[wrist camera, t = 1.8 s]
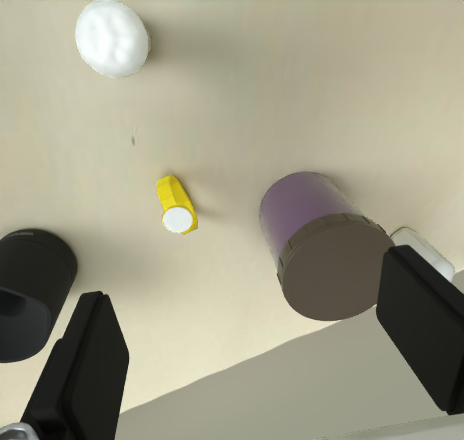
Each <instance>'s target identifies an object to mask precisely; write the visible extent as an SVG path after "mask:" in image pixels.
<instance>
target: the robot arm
mask: <svg viewBox="0 0 464 440" xmlns="http://www.w3.org/2000/svg"><path fill="white" fill-rule="evenodd" d="M376 315H377V318H378V320H379V322H380V324H381V325H382V326H383V328H384V329H385V331H386V332H387V334H388V335H389V337H390V338H391V340H392V341H393V342H394V344H395V345H396V347H397V348H398V349H399V351H400V353H401V354H402V355H403V357H404V358H405V360H406V361H407V363H408V364H409V366H410V367H411V369H412V370H413V372H414V373H415V374H416V376H417V377H418V379H419V380H420V382H421V383H422V384H423V386H424V388H425V389H426V390H427V392H428V393H429V395H430V396H431V398H432V399H433V401H434V402H435V404H436V405H437V406H438V407H439V409H441V410H442V411H446V412H447V414H448V415H449V416H444V417H438V418H431V419H426V420H420V421H414V422H408V423H403V424H397V425H391V426H385V427H380V428H375V429H368V430H363V431H357V432H351V433H346V434H341V435H335V436H329V437H323V438H318V439H312V440H464V294H463V293H462V292H460V291H459V290H458V289H457V288H456V287H455V286H454V285H453V284H452V283H451V282H449V281H448V280H447V279H446V278H445V277H444V276H443V275H442V274H441V273H440V272H438V271H437V270H436V269H435V268H434V267H433V266H432V265H431V264H430V263H429V262H427V261H426V260H425V259H424V258H423V257H422V256H421V255H420V254H419V253H418V252H416V251H415V250H414V249H413V248H412V247H411V246H410V245H407V244H405V245H399V246H392V247H389V249H388V251H387V252H385V253H384V255H383V262H382V269H381V277H380V285H379V292H378V300H377V307H376ZM128 365H129V352H128V348H127V346H126V343H125V340H124V337H123V334H122V331H121V329H120V326H119V323H118V320H117V317H116V314H115V312H114V309H113V306H112V303H111V300H110V298H109V296H108V295H107V294H105V295H103V293H102V292H101V291H96V292H89V293H83V294H82V295H81V296H80V298H79V301H78V303H77V305H76V308H75V310H74V312H73V315H72V317H71V319H70V321H69V324H68V326H67V328H66V331H65V333H64V335H63V338H61V339H59V340H57V341H56V343H55V345H54V347H53V349H52V351H51V353H50V355H49V358H48V360H47V362H46V364H45V367H44V369H43V371H42V373H41V376H40V378H39V380H38V382H37V384H36V387H35V389H34V391H33V393H32V396H31V398H30V400H29V402H28V404H27V407H26V409H25V411H24V413H23V416H22V418H21V420H20V422H19V423H12V424H9V425H7V426H4V427H2V428H0V440H114V439H115V433H116V428H117V422H118V418H119V412H120V407H121V402H122V396H123V391H124V386H125V381H126V375H127V370H128Z"/></svg>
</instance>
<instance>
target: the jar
mask: <svg viewBox="0 0 464 440" xmlns="http://www.w3.org/2000/svg"><path fill="white" fill-rule="evenodd" d="M343 212H344V213H352V214H357V215H361V216H362V215H364V217H366V218H368V217H367V216H366V215H365V214H364V213H363V212H362V211H361V210H360V209H359V208H358V207H357V206H356V205H355V204H354V203H353V202H352V201H351V200H350V199H349V198H348V197H347V196H346V195H345V194H344V193H343V192H342V191H341V190H340V189H339V188H338V187H337V186H336V185H335V184H334V183H333V182H332V181H331V180H330V179H329V178H327V177H325V176H324V175H321V174H318V173H314V172H299V173H295V174H291V175H289V176H286V177H284V178H283V179H281V180H279V181H278V182H277V183H275V184H274V185H273V186H272V187H271V188H270V189H269V190H268V192H267V193H266V195H265V196H264V198H263V200H262V203H261V206H260V213H259V217H260V223H261V227H262V229H263V232H264V235H265V238H266V241H267V243H268V246H269V249H270V252H271V254H272V257H273V260H274V263H275V266H276V268H277V267H278V260H279V257H280V254H281V251H282V249H283V248H284V246H285V244H286V243H287V241H288V240H289V239H290V238H291V237H292V235H293V234H294V233H295V232H297V231H298V230H299V229H300V228H301V227H302V226H304V225H306V224H307V223H309V222H311V221H313V220H315V219H318V218H320V217H322V216H326V215H330V214H336V213H343ZM368 219H369V218H368Z"/></svg>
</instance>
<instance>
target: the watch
mask: <svg viewBox="0 0 464 440" xmlns="http://www.w3.org/2000/svg"><path fill="white" fill-rule="evenodd" d="M157 192H158V195H159V199H160V201H161V204H162V206H163V209H164V213H163V217H162V221H163V224H164V226H165V228H166V229H167V230H169V231H171V232H174V233H181V234H183V235H184V234H186V233H189V232H191V231H193V230H195V229H197V228H198V221H197V217H196V213H195V211H194V208H193V205H192V203H191V201H190V199H189V198H188V196H187V194H186V193H185V191H184V189H183V188H182V186H181V184H180V183H179V180H178V179H177V178H176V177H174V176H173V175H168V176H166V177H164V178H162V179H160V180H158V181H157Z"/></svg>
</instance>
